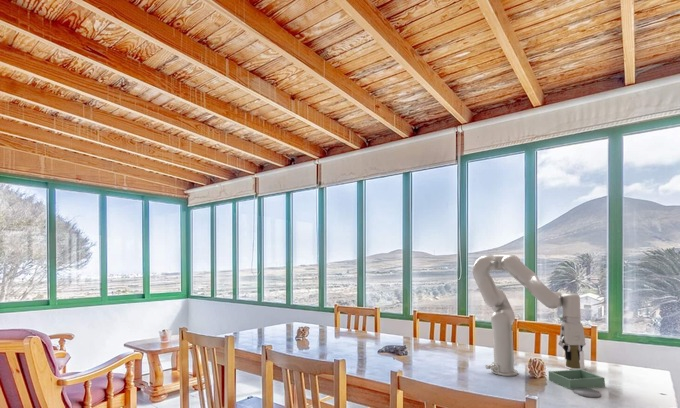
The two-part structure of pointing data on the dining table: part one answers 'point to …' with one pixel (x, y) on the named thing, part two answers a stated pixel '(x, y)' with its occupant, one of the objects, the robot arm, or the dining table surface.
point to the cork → (573, 357)
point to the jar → (579, 361)
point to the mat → (587, 392)
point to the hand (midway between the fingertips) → (572, 359)
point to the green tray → (576, 379)
